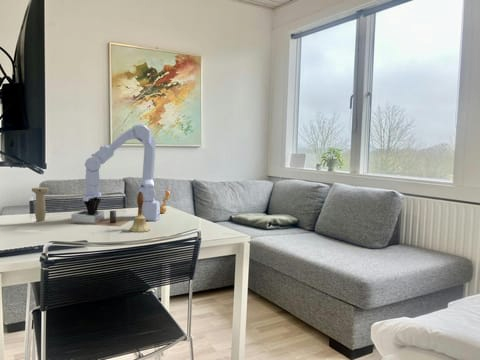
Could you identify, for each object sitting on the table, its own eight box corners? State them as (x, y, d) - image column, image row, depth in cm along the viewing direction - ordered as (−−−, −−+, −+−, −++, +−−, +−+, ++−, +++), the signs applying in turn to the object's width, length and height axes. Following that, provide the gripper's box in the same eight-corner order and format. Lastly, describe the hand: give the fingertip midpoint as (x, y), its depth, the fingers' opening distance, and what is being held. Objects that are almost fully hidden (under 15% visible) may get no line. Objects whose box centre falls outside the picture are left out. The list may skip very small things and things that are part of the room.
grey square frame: (104, 218, 178) (104, 211, 178) (94, 224, 168) (94, 215, 168) (82, 217, 179) (82, 210, 178) (71, 222, 169) (71, 214, 168)
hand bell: (127, 228, 167) (128, 190, 166) (147, 227, 171) (148, 190, 169) (131, 232, 160) (131, 193, 158) (151, 231, 163) (152, 193, 162)
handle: (48, 223, 170) (48, 188, 168) (31, 224, 167) (31, 188, 166) (49, 221, 174) (49, 187, 173) (32, 222, 172) (32, 187, 170)
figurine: (156, 211, 208) (157, 188, 207) (167, 211, 211) (168, 188, 210) (160, 214, 201) (161, 190, 200) (172, 214, 204) (172, 190, 202)
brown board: (130, 222, 179) (130, 209, 179) (120, 228, 166) (120, 214, 166) (82, 219, 180) (82, 206, 180) (68, 225, 167) (68, 211, 167)
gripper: (90, 182, 184) (90, 211, 185) (75, 185, 169) (75, 217, 171) (105, 183, 183) (105, 212, 185) (92, 186, 169) (92, 218, 170)
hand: (92, 215), depth 178 cm, fingers closed on grey square frame, 2 cm apart
